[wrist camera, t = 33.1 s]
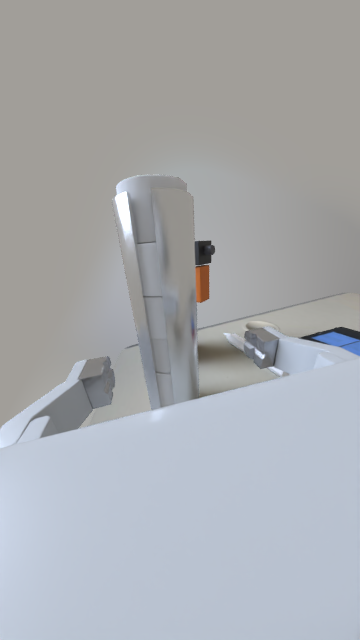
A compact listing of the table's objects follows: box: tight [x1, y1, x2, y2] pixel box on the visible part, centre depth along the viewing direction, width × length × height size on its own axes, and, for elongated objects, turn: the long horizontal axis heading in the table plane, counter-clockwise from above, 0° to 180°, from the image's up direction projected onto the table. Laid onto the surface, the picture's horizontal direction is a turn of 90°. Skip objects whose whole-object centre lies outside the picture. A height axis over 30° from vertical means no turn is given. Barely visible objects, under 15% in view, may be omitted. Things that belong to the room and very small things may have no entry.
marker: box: [224, 333, 289, 377], centre depth 33 cm, size 3×2×16 cm
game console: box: [299, 327, 360, 356], centre depth 31 cm, size 14×13×2 cm
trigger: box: [195, 265, 209, 303], centre depth 26 cm, size 1×2×5 cm, turn 139°
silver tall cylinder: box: [112, 175, 199, 410], centre depth 18 cm, size 6×6×25 cm
